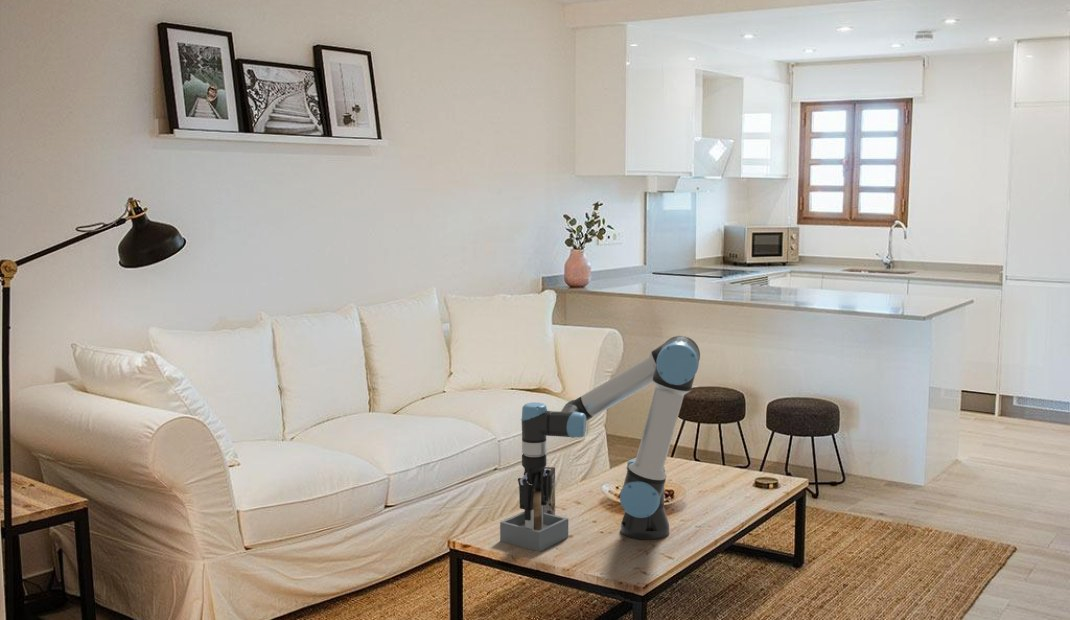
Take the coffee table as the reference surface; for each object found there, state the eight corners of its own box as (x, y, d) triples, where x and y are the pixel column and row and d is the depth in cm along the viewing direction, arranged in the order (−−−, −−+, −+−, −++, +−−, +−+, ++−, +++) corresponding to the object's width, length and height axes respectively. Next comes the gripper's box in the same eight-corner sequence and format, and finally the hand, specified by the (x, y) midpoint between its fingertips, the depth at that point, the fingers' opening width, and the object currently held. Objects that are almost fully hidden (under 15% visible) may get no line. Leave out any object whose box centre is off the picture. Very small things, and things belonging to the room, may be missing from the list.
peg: (544, 535, 311) (544, 491, 309) (535, 539, 308) (535, 495, 306) (532, 532, 314) (532, 488, 312) (524, 536, 311) (523, 492, 309)
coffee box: (550, 523, 325) (550, 475, 323) (531, 522, 326) (531, 473, 324) (555, 514, 334) (555, 466, 331) (536, 512, 335) (536, 465, 333)
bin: (568, 537, 313) (568, 518, 312) (539, 551, 301) (539, 532, 300) (529, 527, 321) (529, 509, 321) (500, 540, 310) (500, 522, 309)
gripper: (541, 445, 316) (541, 517, 320) (506, 458, 303) (507, 532, 306) (560, 449, 312) (560, 522, 315) (526, 462, 298) (526, 538, 302)
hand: (534, 527), depth 311 cm, fingers closed on peg, 4 cm apart
